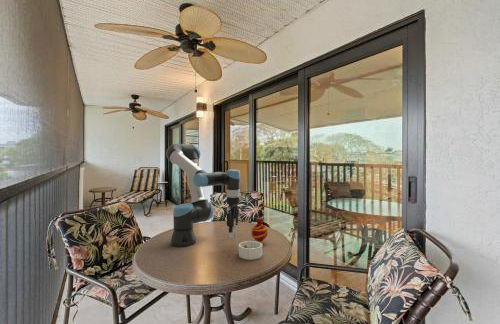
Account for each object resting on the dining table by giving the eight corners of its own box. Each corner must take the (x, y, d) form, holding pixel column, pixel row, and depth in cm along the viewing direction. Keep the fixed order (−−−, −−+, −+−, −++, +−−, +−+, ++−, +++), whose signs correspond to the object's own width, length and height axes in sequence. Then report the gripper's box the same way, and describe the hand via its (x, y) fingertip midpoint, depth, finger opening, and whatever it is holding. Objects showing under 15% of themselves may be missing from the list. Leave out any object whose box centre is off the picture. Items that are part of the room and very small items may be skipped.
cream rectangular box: (228, 237, 147) (228, 218, 147) (229, 236, 149) (230, 217, 149) (233, 238, 146) (234, 219, 145) (235, 237, 148) (235, 218, 147)
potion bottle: (266, 245, 151) (266, 220, 151) (249, 244, 154) (249, 220, 153) (268, 240, 162) (268, 216, 161) (252, 239, 164) (252, 216, 164)
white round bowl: (234, 257, 134) (234, 246, 134) (244, 249, 145) (244, 239, 145) (256, 261, 129) (256, 250, 129) (265, 252, 140) (265, 242, 140)
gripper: (232, 199, 138) (232, 242, 139) (244, 195, 152) (243, 234, 153) (220, 198, 141) (220, 239, 142) (233, 194, 155) (232, 232, 156)
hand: (232, 236), depth 147 cm, fingers closed on cream rectangular box, 2 cm apart
